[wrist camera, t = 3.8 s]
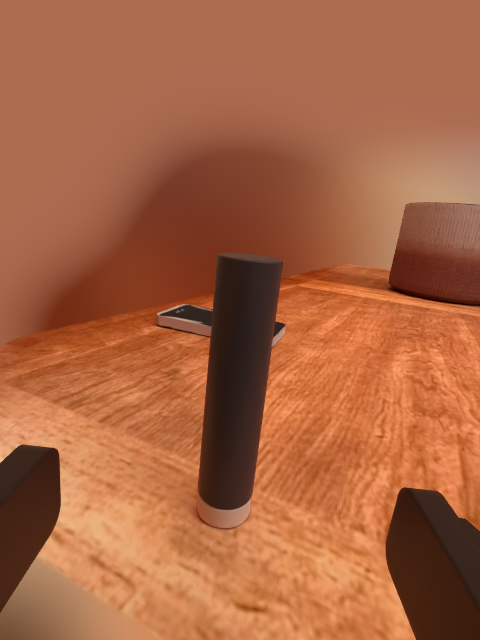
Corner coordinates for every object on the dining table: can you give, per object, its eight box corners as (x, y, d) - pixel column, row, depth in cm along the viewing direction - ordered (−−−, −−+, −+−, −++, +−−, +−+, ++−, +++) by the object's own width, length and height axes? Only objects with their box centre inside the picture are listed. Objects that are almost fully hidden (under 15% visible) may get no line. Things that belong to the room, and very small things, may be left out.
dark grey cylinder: (216, 538, 16) (245, 261, 13) (185, 500, 18) (204, 251, 14) (261, 513, 17) (296, 261, 14) (228, 481, 19) (253, 253, 16)
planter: (381, 282, 110) (397, 206, 104) (473, 294, 104) (495, 215, 99) (394, 296, 86) (415, 199, 80) (514, 313, 81) (546, 210, 75)
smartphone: (271, 339, 40) (153, 314, 44) (270, 350, 40) (153, 324, 44) (287, 324, 47) (183, 303, 51) (285, 333, 47) (183, 312, 51)
